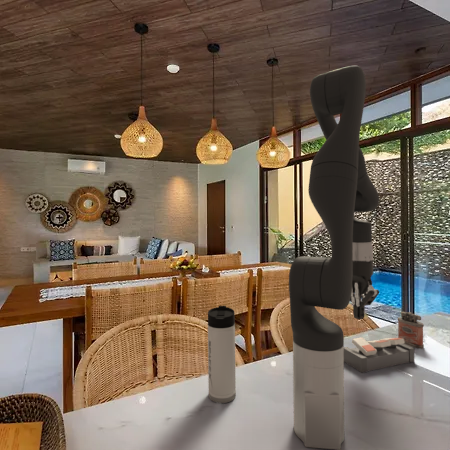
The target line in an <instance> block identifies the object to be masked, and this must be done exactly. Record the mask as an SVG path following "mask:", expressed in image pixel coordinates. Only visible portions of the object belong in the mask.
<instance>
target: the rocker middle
mask: <svg viewBox="0 0 450 450" xmlns="http://www.w3.org/2000/svg"><path fill="white" fill-rule="evenodd" d="M367 342H368V343H369V344H370V345H372V346H373V347H386V346H391V343H390V341H386V340H381V341H380V340H379V339H378V340H377V339H376V340H375V339H374V340H368V341H367Z"/></svg>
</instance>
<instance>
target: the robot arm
mask: <svg viewBox="0 0 450 450" xmlns="http://www.w3.org/2000/svg"><path fill="white" fill-rule="evenodd" d="M366 82H367V81H366V75H365V72H364V70H363V68H362V67H361V66H358V65H348V66H345V67H341V68H337V69H334V70H331V71H327V72H324V73H321V74H318V75H316V76H314V77H313V79H312V80H311V82H310V86H309V87H310V88H309V97H310V102H311V106H312V110H313V113H314V116H315V118H316V120H317V123H318V124H319V127H320V129H321V131H322V134H323V136H324V139H325V142H324V143H323V144H322V146H321V147H320V148H319V150H318V151H317V152H316V154H315V156H314V157H313V159H312V161H311V165H310V169H309V170H310V171H309V172H310V173H309V181H308V196H309V199H310V202H311V203H312V206H313V207H314V209H315V210H316V212H317V214H318V215H319V217H320V219H321V220H322V222H323V225H324V227H325V228H326V231H327V233H328V235H329V239H330V244H331V257H321V256H307V255H306V256H304V255H303V256H297V257H295V259H294V260H293V261H292V263H291V265H290V268H289V274H288V293H289V305H290V306H289V309H290V310H289V311H290V325H291V331H292V373H293V374H292V375H293V376H292V378H293V380H292V383H293V384H292V386H293V388H292V389H293V390H292V391H293V394H292V395H293V397H292V398H293V402H292V404H293V431H294V433H295V435H296V437H298V439H300V441H301V442H303V444H304V447H305V448H314V449H315V448H316V449H326V450H327V449H328V450H342V443H343V442H344V440H345V371H344V370H345V362H344V347H345V346H344V344H345V343H344V341H345V339H344V338H345V337H344V331H343V329H342V327H341V326H340V325H339V324H337V323H335V322H334V321H332V320H331V319H329V318H328V317H325V316H324V315H322V314H321V313H320V312H319V310H317V309H316V307H317V308H325V309H331V310H339V311H340V310H341V311H342V310H346V308H347V307H348V305H349V304H350V302H351V304H352V311H353V312H352V313H353V314H352V315H353V318H354V319H357V320H363V319H364V318H365V315H366V314H365V307H366V306H371V305H372V303H374V301H375V300H376V298H377V297H378V296H379V294H380V290H379V289H375V288H374V286H373V280H372V276H373V275H374V248H373V241H372V240H373V233H372V232H373V227H372V223H371V222H370V221H368V220H363V219H357V218H356V217H355V213H368V212H369V213H370V212H374V211H375V210H376V209H377V208H378V206H379V204H380V196H379V193H378V190H377V188H376V187H375V185H374V184H373V181H371V178H370V177H369V175H368V170H367V165H366V159H365V156H364V152H363V150H362V148H360V137H361V136H360V135H361V129H362V120H363V115H364V106H365V100H366V91H367V90H366V89H367V83H366ZM340 114H341V115H340ZM335 115H340V118H339V120H338V121H339V122H337V120H336V119H335Z"/></svg>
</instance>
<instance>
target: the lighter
mask: <svg viewBox="0 0 450 450" xmlns="http://www.w3.org/2000/svg"><path fill="white" fill-rule="evenodd" d="M400 313H401V316H398V317H397V323H398V324H397V327H398V328H397V331H398V332H397V333H398V334H397V335H398V336H397V338H402V339H404V342H405V343H403V344H405V345H408V346H410V347H412V348H414V349H421V350H423V349H424V347H425V345H424V327H425V325H424V323H423V322H421V321H422V316H421V315H419V314H415V313H412V312H411V311H410V312H406V311H401V312H400Z"/></svg>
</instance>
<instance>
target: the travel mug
mask: <svg viewBox="0 0 450 450" xmlns="http://www.w3.org/2000/svg"><path fill="white" fill-rule="evenodd" d="M235 315H236V314H235V310H234V309H233V308H231V307H227V305H218V307H217V306H216V307H213V308H210V309H209V310H208V312H207V363H208V364H207V365H208V366H207V367H208V368H207V369H208V371H207V373H208V378H207V379H208V381H207V382H208V383H207V384H208V398H209V400H211V401H212V402H213V403H217V404H227V403H229V402H232V401H233V400H234V399H235V398H236V393H237V390H236V383H237V382H236V377H237V376H236V327H235V326H236V323H235Z"/></svg>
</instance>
